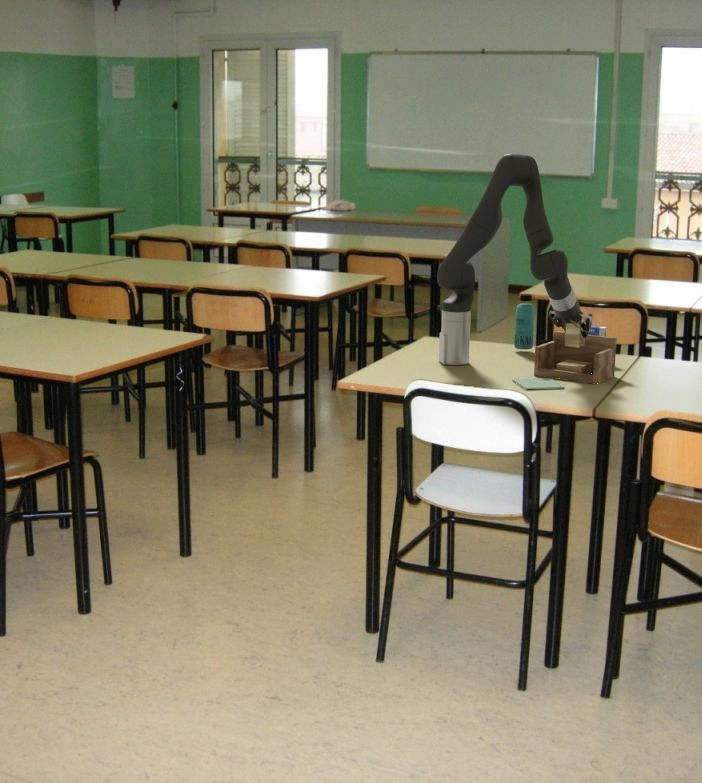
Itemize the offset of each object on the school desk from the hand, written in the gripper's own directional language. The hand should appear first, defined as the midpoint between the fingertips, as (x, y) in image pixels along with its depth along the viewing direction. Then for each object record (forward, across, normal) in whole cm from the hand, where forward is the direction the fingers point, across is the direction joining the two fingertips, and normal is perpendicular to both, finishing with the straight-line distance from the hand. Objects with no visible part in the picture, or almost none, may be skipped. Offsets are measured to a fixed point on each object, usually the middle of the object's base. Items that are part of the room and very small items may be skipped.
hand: (577, 334), depth 328 cm
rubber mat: (-5, +3, +23) cm, 24 cm away
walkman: (+25, +4, -6) cm, 26 cm away
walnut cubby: (+8, 0, +10) cm, 13 cm away
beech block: (+1, 0, +4) cm, 4 cm away
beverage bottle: (+26, +29, -7) cm, 40 cm away
